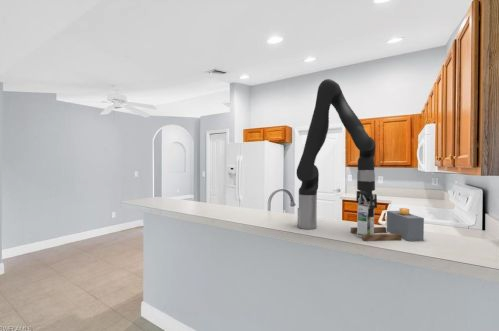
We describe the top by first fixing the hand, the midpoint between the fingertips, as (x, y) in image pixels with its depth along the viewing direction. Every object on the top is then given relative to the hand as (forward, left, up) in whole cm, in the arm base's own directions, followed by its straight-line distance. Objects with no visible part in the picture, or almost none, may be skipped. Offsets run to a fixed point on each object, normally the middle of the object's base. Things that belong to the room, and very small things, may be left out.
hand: (366, 215), depth 122 cm
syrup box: (0, 0, -10) cm, 10 cm away
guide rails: (+4, 0, -10) cm, 11 cm away
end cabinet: (+18, 0, -10) cm, 21 cm away
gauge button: (+18, 0, -1) cm, 18 cm away
